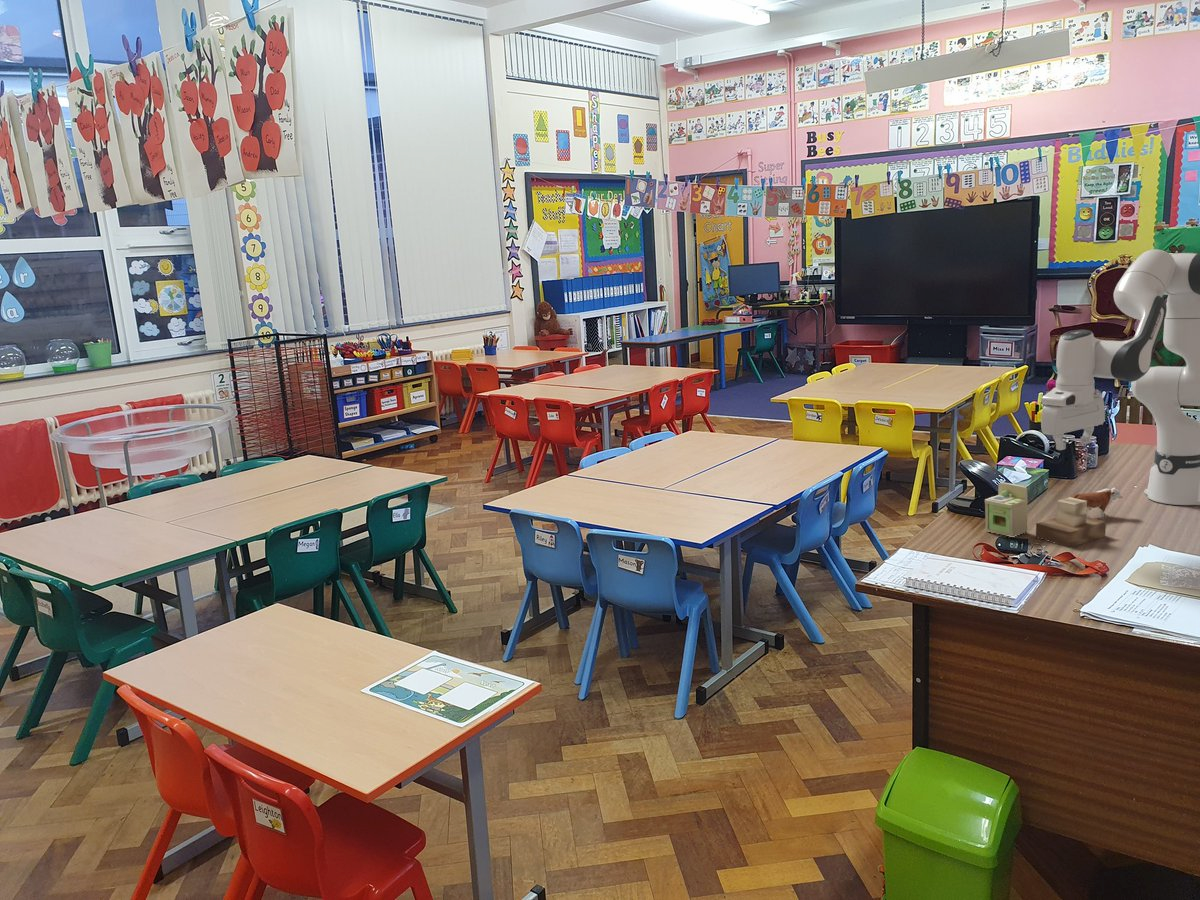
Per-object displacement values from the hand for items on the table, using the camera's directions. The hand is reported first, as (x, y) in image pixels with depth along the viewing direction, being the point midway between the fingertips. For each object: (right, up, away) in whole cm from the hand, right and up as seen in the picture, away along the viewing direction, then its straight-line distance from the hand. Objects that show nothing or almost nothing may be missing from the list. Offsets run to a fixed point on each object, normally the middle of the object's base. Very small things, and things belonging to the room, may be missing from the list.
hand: (1073, 446), depth 232 cm
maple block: (+2, -20, +4) cm, 21 cm away
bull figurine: (+17, -20, +20) cm, 33 cm away
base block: (+2, -24, +5) cm, 25 cm away
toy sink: (-12, -24, +13) cm, 30 cm away
